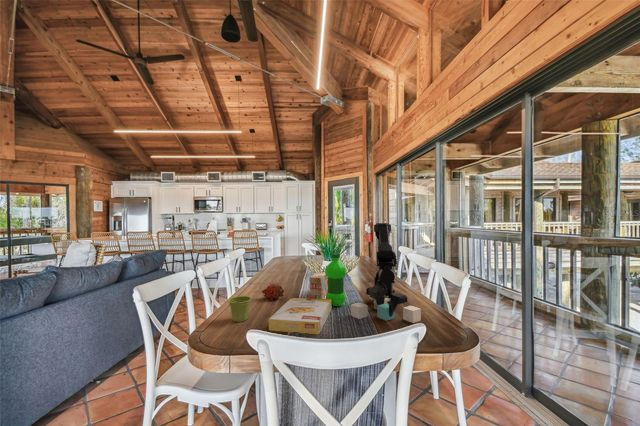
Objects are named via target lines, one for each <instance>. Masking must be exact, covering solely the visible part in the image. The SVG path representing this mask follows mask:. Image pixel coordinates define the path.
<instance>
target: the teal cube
mask: <svg viewBox="0 0 640 426" xmlns="http://www.w3.org/2000/svg"><path fill="white" fill-rule="evenodd" d="M376 310H377V313H376V314H377V318H379V319H380V320H383V321H389V320H390V321H391V320H393V319H395V312H394V313H393V315H392V317H390V316H389V305H388V304H382V305H378V306H377V309H376Z"/></svg>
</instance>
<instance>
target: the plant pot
mask: <svg viewBox="0 0 640 426" xmlns="http://www.w3.org/2000/svg"><path fill="white" fill-rule="evenodd" d="M251 301H252V297H251V296H246V295H239V296H234V297H231V298H229V299H228V303H229V306H230V311H231V317H232V322H237V323H242V322H245V321H246V320H248V318H249V310H250V303H251Z"/></svg>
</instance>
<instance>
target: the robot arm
mask: <svg viewBox="0 0 640 426" xmlns="http://www.w3.org/2000/svg"><path fill="white" fill-rule="evenodd" d="M373 232H374V235H375V237H376V239H377V241H378V243H377V251H376V252H375V253H376V254H375V255H376V267H377V270H376V271H375V276H374V277H373V286H369V287H366V290H365V294H366V295H368V296H369V298H371V299H373V300H374V299H375V300H376V303H377V305H382V304H384V300H385V298H388V299H390V301H387V303H388V304H389V316H390V317H392V315H393V313H394V314H395V311H396V309H397V306H398V305H402V304H405V303H408V296H407V295H406V294H402V293H395V290H394V287H393V285H394V284H395V283H396V282H395V278H396V275H395V272H394V271H393V268H394V267H397V266H396V265H397V264H398V261H397V254H396V252H395V251H394V248H393V246H392V245H391V244H390V238H389V237H390V236H391V235H390V233H392V224H391V223H389V222H376V223H375V224H374V225H373Z"/></svg>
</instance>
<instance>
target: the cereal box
mask: <svg viewBox="0 0 640 426" xmlns="http://www.w3.org/2000/svg"><path fill="white" fill-rule="evenodd" d="M332 309H333V306H332V302H331V299H326V298H324V299H311V298H310V297H307V298H305V297H304V298H303V297H291V298H290V299H289V300H287V302H285V303H284V304H283V305H282V306H280V308H279V309H278V310H277V311H276V312H274V313H273V315H271V317H269V318H268V331H273V332H281V333H283V332H284V333H293V332H299V333H298V334H305V333H308V334H307V335H319V334H320V333H321V331H322V329H323V327H324V325H325V323H326V321H327V320H328V317H329V315H330V313H331V311H332Z"/></svg>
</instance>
